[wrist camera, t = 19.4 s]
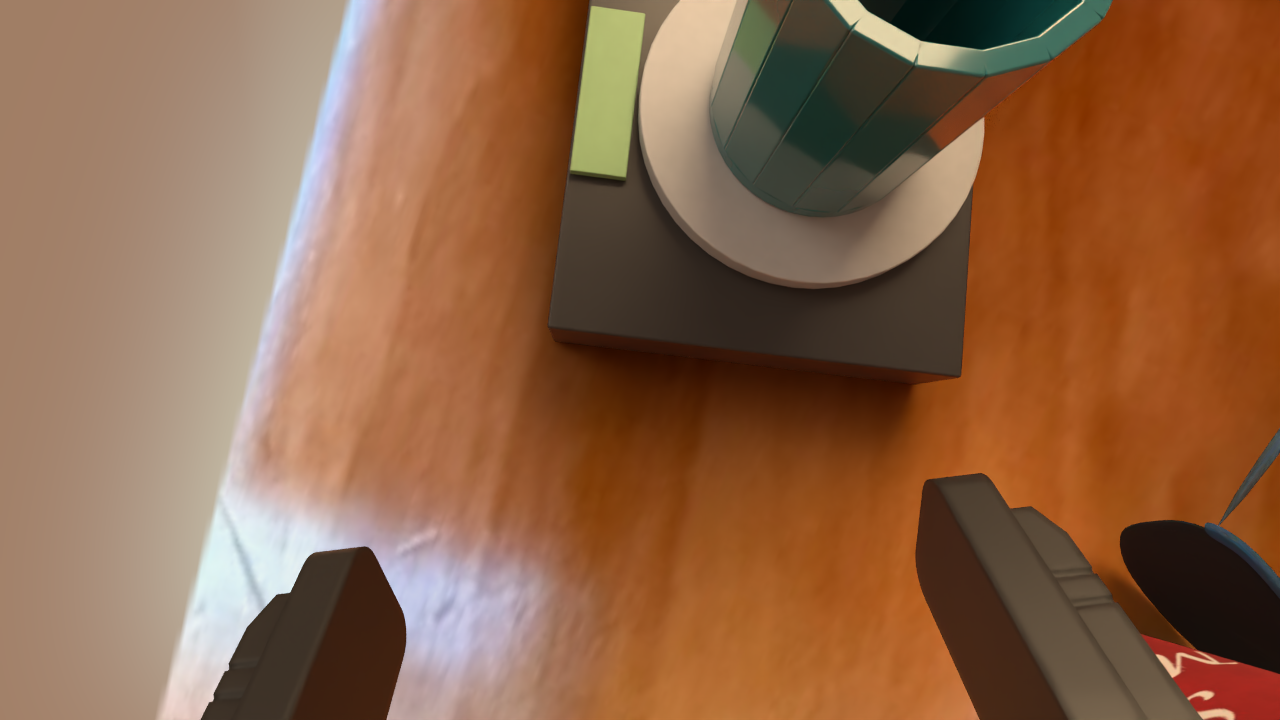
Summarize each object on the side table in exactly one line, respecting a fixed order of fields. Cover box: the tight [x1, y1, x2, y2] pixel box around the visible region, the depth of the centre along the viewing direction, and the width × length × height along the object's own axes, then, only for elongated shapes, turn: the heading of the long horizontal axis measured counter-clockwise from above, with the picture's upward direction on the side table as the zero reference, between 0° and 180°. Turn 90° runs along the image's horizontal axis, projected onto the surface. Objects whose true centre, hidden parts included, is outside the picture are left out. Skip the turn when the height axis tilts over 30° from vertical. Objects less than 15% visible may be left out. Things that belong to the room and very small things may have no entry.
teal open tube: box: [709, 0, 1113, 217], centre depth 16 cm, size 6×6×8 cm
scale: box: [548, 0, 984, 384], centre depth 22 cm, size 12×14×4 cm
